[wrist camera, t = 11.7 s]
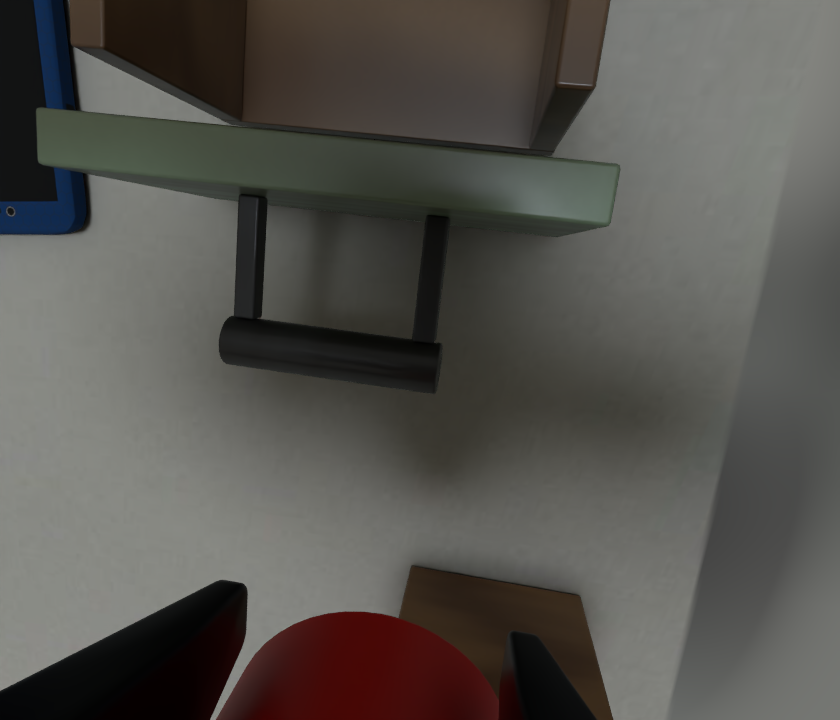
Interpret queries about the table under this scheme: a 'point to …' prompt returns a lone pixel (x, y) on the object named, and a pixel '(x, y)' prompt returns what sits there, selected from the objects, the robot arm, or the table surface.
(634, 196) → the table surface
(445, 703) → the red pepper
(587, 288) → the table surface
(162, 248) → the table surface
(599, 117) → the table surface
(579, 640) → the block
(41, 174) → the cell phone
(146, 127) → the drawer
